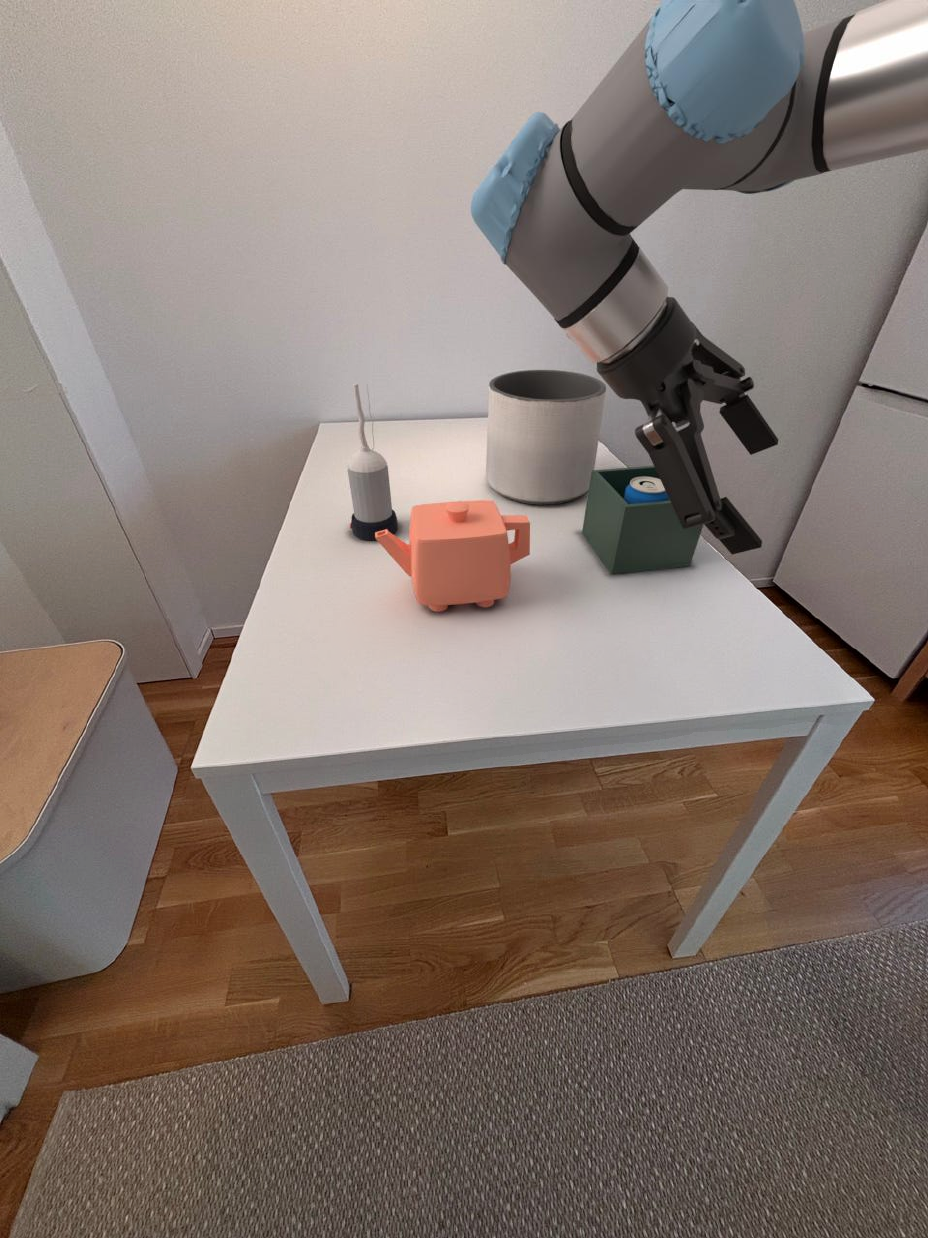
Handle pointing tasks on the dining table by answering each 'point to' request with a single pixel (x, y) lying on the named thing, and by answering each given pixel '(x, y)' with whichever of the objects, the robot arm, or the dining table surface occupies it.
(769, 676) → the dining table surface
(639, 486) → the beverage can
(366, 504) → the humidifier
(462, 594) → the teapot
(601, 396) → the planter
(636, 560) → the waste bin
